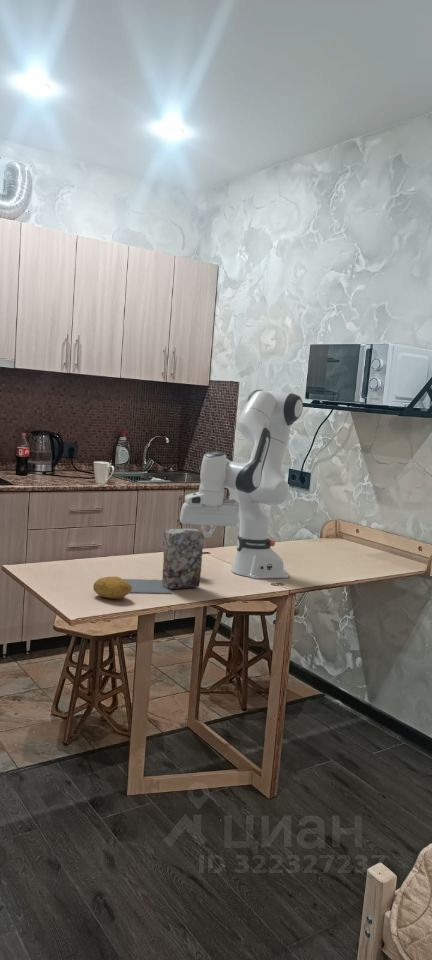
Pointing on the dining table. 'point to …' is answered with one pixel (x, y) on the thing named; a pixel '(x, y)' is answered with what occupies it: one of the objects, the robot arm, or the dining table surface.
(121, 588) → the potato
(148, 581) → the mat
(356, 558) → the dining table surface
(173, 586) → the stone block
